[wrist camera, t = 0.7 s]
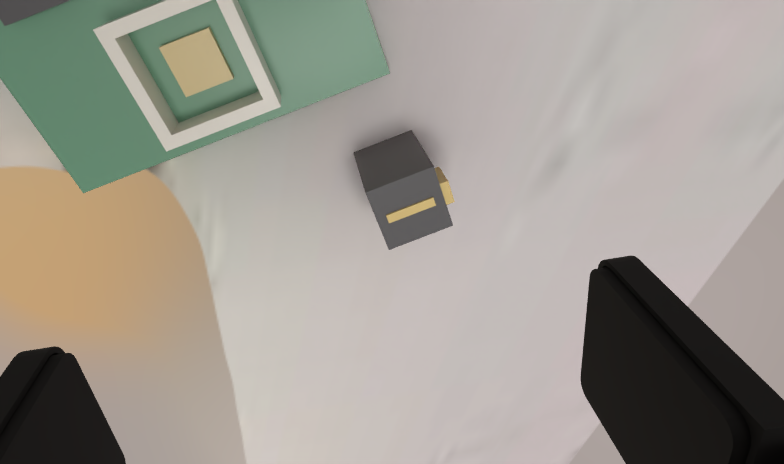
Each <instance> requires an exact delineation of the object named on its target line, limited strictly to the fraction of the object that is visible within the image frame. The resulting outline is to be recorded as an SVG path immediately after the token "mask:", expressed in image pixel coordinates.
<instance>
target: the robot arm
mask: <svg viewBox="0 0 784 464" xmlns="http://www.w3.org/2000/svg"><path fill="white" fill-rule="evenodd" d="M581 385H582V389H583V392H584V394H585V396H586V398H587V400H588V401H589V403H590V405H591V406H592V408H593V410H594V411H595V413H596V415H597V416H598V418H599V420H600V421H601V423H602V425H603V426H604V428H605V430H606V431H607V433H608V435H609V436H610V438H611V440H612V441H613V443H614V445H615V446H616V448H617V450H618V451H619V453H620V455H621V456H622V458H623V460H624V461H625V463H626V464H784V400H783V399H782V398H781V397H780V396H779V395H778V394H777V393H776V392H775V391H774V390H773V389H772V388H771V387H770V386H769V385H768V384H766V382H765V381H763V380H762V379H761V378H760V377H759V376H758V375H757V374H756V373H755V372H754V371H753V370H752V369H751V368H750V367H749V366H748V365H747V364H746V363H745V362H744V361H743V360H742V359H741V358H740V357H739V356H738V355H737V354H735V352H734V351H733V350H731V348H730V347H729V346H728V345H726V344H725V343H724V342H723V341H722V340H721V339H720V338H719V337H718V336H717V335H716V334H715V333H714V332H713V331H712V330H711V329H710V328H709V327H708V326H707V325H706V324H705V323H704V322H703V321H702V320H701V319H700V318H699V317H698V316H696V314H694V312H693V311H691V310H690V309H689V308H688V307H687V306H686V305H685V304H684V303H683V302H682V301H681V300H680V299H679V298H678V297H677V296H676V295H675V294H674V293H673V292H672V291H671V290H670V289H669V288H668V287H667V286H666V285H665V284H664V283H663V282H662V281H661V280H660V279H659V278H658V277H657V276H656V275H655V274H654V273H652V272H651V271H650V270H649V269H648V268H647V267H646V266H645V265H644V264H643V263H642V262H641V261H640V260H639V259H638V258H636V257H635V256H626V257H619V258H613V259H607V260H603V261H601V262H600V264H599V266H598V269H594V270H592V271H591V273H590V280H589V291H588V302H587V313H586V324H585V335H584V346H583V357H582V368H581ZM0 464H126V463H125V458H124V455H123V453H122V451H121V449H120V447H119V445H118V443H117V441H116V439H115V436H114V434H113V433H112V431H111V428H110V426H109V425H108V423H107V420H106V418H105V416H104V414H103V412H102V410H101V408H100V406H99V404H98V402H97V400H96V398H95V396H94V394H93V392H92V390H91V388H90V386H89V384H88V382H87V380H86V378H85V376H84V374H83V372H82V370H81V368H80V366H79V364H78V362H77V360H76V358H75V357H74V355H72V354H71V353H65V352H64V351H63V350H62V349H61V348H59V347H49V348H43V349H36V350H30V351H23V352H20V353H18V354H17V355H16V356H15V357H14V358H13V360H12V361H11V362H10V364H9V365H8V367H7V368H6V370H5V371H4V372H3V374H2V375H1V377H0Z"/></svg>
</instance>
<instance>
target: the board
mask: <svg viewBox="0 0 784 464" xmlns="http://www.w3.org/2000/svg"><path fill="white" fill-rule="evenodd" d="M387 74H390V72H389V69H388V66H387V63H386V60H385V57H384V54H383V51H382V48H381V45H380V42H379V39H378V36H377V33H376V30H375V27H374V24H373V21H372V19H371V16H370V13H369V10H368V7H367V4H366V1H365V0H0V78H1V80H2V81H3V83H4V84H5V85H6V87H7V88H8V89H9V91H10V92H11V94H12V95H13V96H14V98H15V99H16V101H17V102H18V103H19V105H20V106H21V107H22V109H23V110H24V112H25V113H26V114H27V116H28V117H29V119H30V120H31V121H32V123H33V124H34V125H35V127H36V128H37V130H38V131H39V132H40V134H41V135H42V137H43V138H44V139H45V141H46V142H47V143H48V145H49V146H50V148H51V149H52V150H53V152H54V153H55V154H56V156H57V157H58V159H59V160H60V161H61V163H62V164H63V166H64V167H65V168H66V170H67V171H68V172H69V174H70V175H71V177H72V178H73V179H74V181H75V182H76V184H77V185H78V186H79V188H80V189H81V190H82V192H83V193H85V192H88V191H90V190H93V189H95V188H98V187H100V186H103V185H105V184H108V183H111V182H113V181H116V180H118V179H121V178H123V177H126V176H129V175H131V174H134V173H136V172H139V171H141V170H144V169H147V168H149V167H152V166H154V165H157V164H159V163H162V162H164V161H167V160H170V159H172V158H175V157H177V156H180V155H182V154H185V153H187V152H190V151H193V150H195V149H198V148H200V147H203V146H205V145H208V144H210V143H213V142H216V141H218V140H221V139H223V138H226V137H228V136H231V135H233V134H236V133H239V132H241V131H244V130H246V129H249V128H251V127H254V126H257V125H259V124H262V123H264V122H267V121H269V120H272V119H274V118H277V117H280V116H282V115H285V114H287V113H290V112H292V111H295V110H297V109H300V108H303V107H305V106H308V105H310V104H313V103H315V102H318V101H320V100H323V99H326V98H328V97H331V96H333V95H336V94H338V93H341V92H343V91H346V90H349V89H351V88H354V87H356V86H359V85H361V84H364V83H367V82H369V81H372V80H374V79H377V78H379V77H382V76H384V75H387Z"/></svg>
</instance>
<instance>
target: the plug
mask: <svg viewBox="0 0 784 464" xmlns="http://www.w3.org/2000/svg"><path fill="white" fill-rule="evenodd" d="M354 156H355V159H356V162H357V166H358V169H359V172H360V176H361V179H362V182H363V186H364V189H365V192H366V195H367V197H368V200H369V202H370V205H371V207H372V209H373V212H374V214H375V217H376V219H377V222H378V224H379V227H380V229H381V231H382V234H383V236H384V239H385V241H386V244H387V246H388V249H389V250H390V249H393V248H395V247H398V246H401V245H403V244H406V243H408V242H411V241H414V240H416V239H419V238H421V237H424V236H427V235H429V234H432V233H435V232H437V231H440V230H442V229H445V228H448V227H450V226H453V224H452V221H451V218H450V215H449V212H448V208H447V205H448V204H450V203H453V202H454V198H453V195H452V192H451V189H450V186H449V183H448V180H447V179H446V177H445V175H444V174H443V172H442V171H441V169H440V168H439V167H437V168H434V166H433V164H432V163H431V161H430V159H429V158H428V156H427V155H426V153H425V151H424V150H423V148H422V146H421V145H420V143H419V142H418V140H417V138H416V137H415V135H414V134H413V132H412V130H411V131H408V132H406V133H403V134H400V135H398V136H395V137H393V138H390V139H388V140H385V141H382V142H380V143H377V144H375V145H372V146H370V147H367V148H364V149H362V150H359V151H357V152H354Z"/></svg>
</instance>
